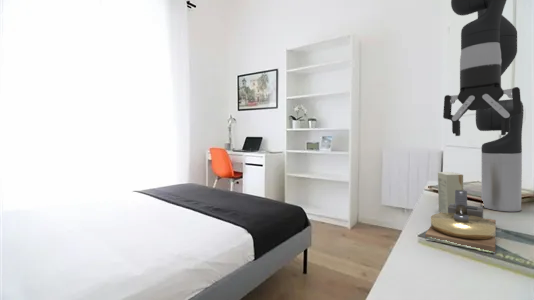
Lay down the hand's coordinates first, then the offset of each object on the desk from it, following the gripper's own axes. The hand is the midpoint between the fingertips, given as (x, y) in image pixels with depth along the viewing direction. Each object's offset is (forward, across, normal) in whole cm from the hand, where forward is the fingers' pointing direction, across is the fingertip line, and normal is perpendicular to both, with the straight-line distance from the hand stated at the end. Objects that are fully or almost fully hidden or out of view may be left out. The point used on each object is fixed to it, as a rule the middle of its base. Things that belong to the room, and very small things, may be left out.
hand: (479, 135), depth 62 cm
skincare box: (+24, -8, +11) cm, 27 cm away
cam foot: (+21, -3, -7) cm, 23 cm away
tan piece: (+23, -3, -4) cm, 24 cm away
